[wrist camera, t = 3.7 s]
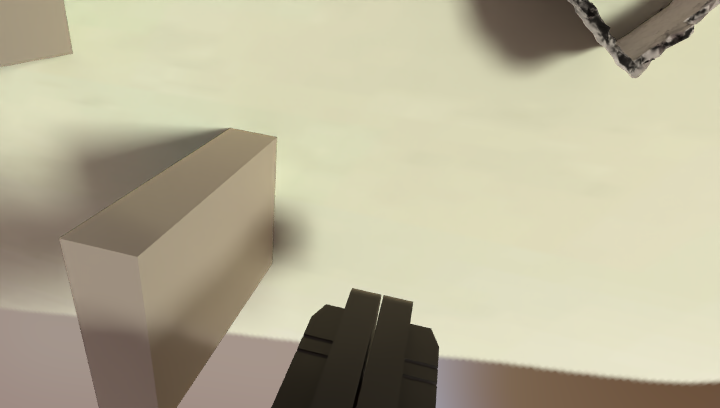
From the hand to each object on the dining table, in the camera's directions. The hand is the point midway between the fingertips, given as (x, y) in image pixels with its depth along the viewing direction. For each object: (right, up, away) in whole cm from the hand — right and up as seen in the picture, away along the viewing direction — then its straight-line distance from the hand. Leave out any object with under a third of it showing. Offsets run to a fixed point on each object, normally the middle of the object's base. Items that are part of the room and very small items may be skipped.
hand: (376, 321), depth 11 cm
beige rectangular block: (-4, +3, +5) cm, 7 cm away
